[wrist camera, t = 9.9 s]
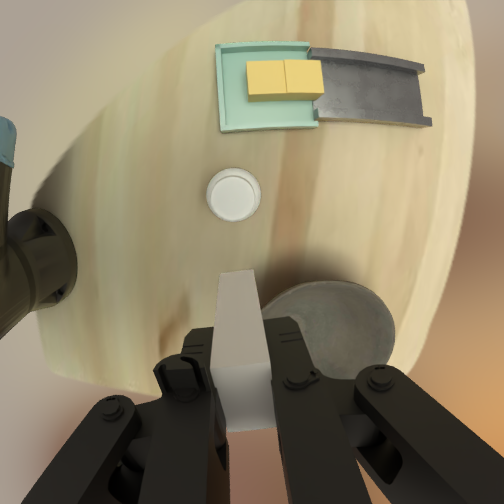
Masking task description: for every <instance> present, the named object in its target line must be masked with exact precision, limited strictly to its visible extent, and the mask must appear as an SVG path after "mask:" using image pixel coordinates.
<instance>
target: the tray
mask: <svg viewBox="0 0 504 504" xmlns="http://www.w3.org/2000/svg"><path fill="white" fill-rule="evenodd" d="M309 47H310V44H309V42H296V41H261V42H239V43H226V44H216V45H215V51H216V68H217V84H218V99H219V114H220V128H221V132H222V133H229V132H242V131H257V130H277V129H314V128H316V127H318V121H314V116H313V105H312V100H285V101H265V102H248V94H247V82H246V61H269V60H284V59H293V60H307V52H306V51H307V50H308V48H309Z"/></svg>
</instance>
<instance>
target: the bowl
mask: <svg viewBox="0 0 504 504" xmlns="http://www.w3.org/2000/svg"><path fill="white" fill-rule="evenodd" d="M261 314H262V320H265V319H272V318H279V317H286V316H290V317H291V318H292V319H294V320H295V321H296V322H297V323H298V325H299V328H300V330H301V333H302V336H303V339H304V341H305V343H306V346H307V349H308V351H309V354H310V356H311V359H312V362H313V364H314V366H315V368H317V369H319V370H320V371H321V373H322V374H323V375H325V376H327V377H330V378H334V379H356V376H357V375H358V373H359V372H360V371H361V370H363V369H364V368H366V367H368V366H372V365H376V364H385V365H386V364H387V362H388V360H389V358H390V356H391V354H392V351H393V347H394V343H395V325H394V320H393V318H392V315H391V313H390V311H389V310H388V308H387V307H386V305H385V304H384V302H383V301H382V300H381V299H380V298H379V297H378V296H377V295H376V294H375V293H374V292H372V291H371V290H369V289H367V288H365V287H363V286H361V285H359V284H356V283H352V282H348V281H340V280H322V281H312V282H304V283H301V284H298V285H295V286H292V287H290V288H288V289H286V290H284V291H283V292H281V293H280V294H278V295H277V296H276V297H274V298H273V299H272V300H271V301H269V302H268V303H267V304H266V305H265V306H264V307H263V308H262V309H261Z"/></svg>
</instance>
